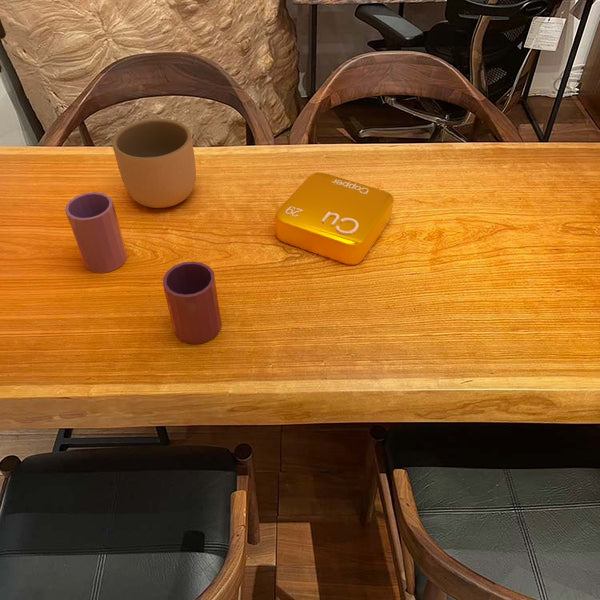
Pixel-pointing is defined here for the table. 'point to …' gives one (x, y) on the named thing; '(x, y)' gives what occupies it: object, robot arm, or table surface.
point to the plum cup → (192, 302)
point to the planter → (156, 161)
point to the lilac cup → (97, 231)
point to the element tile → (334, 217)
